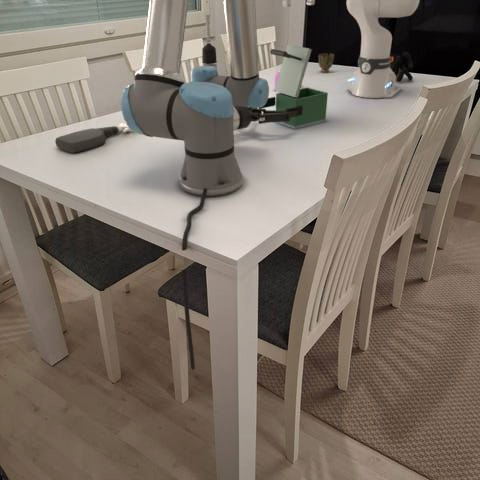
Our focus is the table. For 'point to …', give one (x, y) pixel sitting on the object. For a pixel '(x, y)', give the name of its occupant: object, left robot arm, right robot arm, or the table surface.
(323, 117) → the chest
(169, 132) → the left robot arm
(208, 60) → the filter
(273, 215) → the table surface
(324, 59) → the cup
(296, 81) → the lid
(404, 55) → the squiggle
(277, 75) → the bracket
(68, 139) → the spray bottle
